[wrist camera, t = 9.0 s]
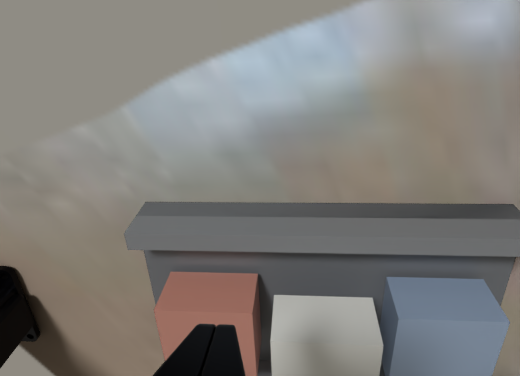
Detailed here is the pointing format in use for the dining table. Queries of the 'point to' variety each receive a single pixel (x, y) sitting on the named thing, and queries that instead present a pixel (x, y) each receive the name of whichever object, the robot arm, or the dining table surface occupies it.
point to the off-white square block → (325, 336)
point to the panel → (327, 247)
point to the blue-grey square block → (440, 327)
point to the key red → (211, 310)
